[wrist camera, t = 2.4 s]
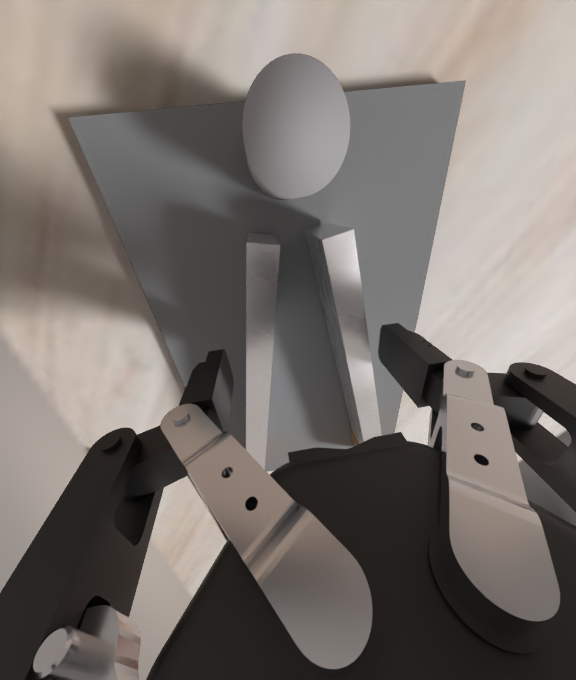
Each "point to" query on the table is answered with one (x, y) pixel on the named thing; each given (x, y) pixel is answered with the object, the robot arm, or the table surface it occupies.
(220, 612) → the robot arm
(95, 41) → the table surface
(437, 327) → the table surface
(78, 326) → the table surface
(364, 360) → the leg
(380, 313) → the mat
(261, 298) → the leg
